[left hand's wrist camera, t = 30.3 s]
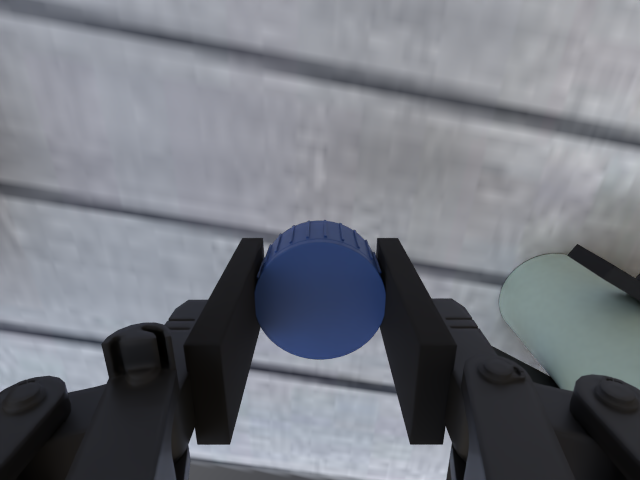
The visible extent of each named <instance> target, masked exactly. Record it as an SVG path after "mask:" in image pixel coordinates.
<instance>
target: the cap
mask: <svg viewBox="0 0 640 480" xmlns="http://www.w3.org/2000/svg"><path fill="white" fill-rule="evenodd" d="M380 273H382V272H381V269H380V266H379V263H378V260H377V258H376V255H375V252H372V250H371V248H370V246H369V245H368V242H367V240H364V239H363V238H362V237H361V236H360V235H359V234H358V233H356V230H352V229H350V228H348V227H346V226H344V225H342V223H340V224H339V223H335V222H330V221H326V220H324V221H308V222H305V223H301V224H299V225H296V226H295V225H294V226H292V228H290V229H288V230H287V231H285V232H284V233H283V234H279V237H278V238H277V239H276V240H275V241H274V243H273V244H272V245H271V244H270V246H269V248H268V251H267V254H266V257H264V258H263V261H262V264H261V266H260V269H259V272H258V275H257V278H256V279H258V281H257V283H256V287H255V291H254V294H255V310H256V317H257V320H258V323H259V324H260V326H261V328H262V330H263V331H264V333H265V334H266V335H267V336H268V338H269V339H270V340H271V341H272V342H274V343H275V344H276V345H277V346H279V347H280V348H282V349H283V350H285V351H287V352H289V353H291V354H294V355H296V356H299V357H303V358H308V359H332V358H337V357H341V356H344V355H347V354H349V353H351V352H353V351H355V350H357V349H359V348H360V347H362V346H363V345H364V344H365V343H367V342H368V341H369V340H370V339H371V338H372V337H373V336H374V334H375V333H376V332H377V330H378V328H379V327H380V325H381V323H382V321H383V318H384V314H385V300H386V291H385V286H384V283H383V280H382V277H381V274H380Z"/></svg>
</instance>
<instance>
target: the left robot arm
mask: <svg viewBox="0 0 640 480" xmlns="http://www.w3.org/2000/svg"><path fill="white" fill-rule="evenodd" d="M263 258H264V247H263V238H242V240H241V242H240V243H239V245H238V247H237V249H236V251H235V252H234V254H233V256H232V258H231V260H230V261H229V263H228V265H227V267H226V269H225V270H224V272H223V274H222V276H221V278H220V280H219V281H218V283H217V285H216V287H215V289H214V290H213V292H212V294H211V296H210V298H209V299H208V300H188V301H186V302H185V303H183V304H182V305H180V306H179V307H178V308H176V309H175V311H174V312H173V313H172V315H171V316H170V318H169V321H167V322H166V324H165V325H163V324H159V323H140V324H135V325H130V326H128V327H125V328H122V329H120V330H118V331H116V332H114V333H113V334H111V335H110V336H108V337H107V338H106V339H105V341H104V342H103V343H102V349H103V353H104V357H105V362H106V366H107V371H108V375H109V380H108V382H107V384H104V385H101V386H97V387H93V388H88V389H84V390H79V391H74V392H70V393H68V392H67V389H66V385H65V382H63V381H62V380H61V379H60V378H58V377H52V376H43V377H35V378H31V379H28V380H24V381H21V382H18V383H17V384H14V385H12V386H10V387H8V388H6V389H4V390H3V391H2V392H0V480H188V479H189V470H190V453H189V447H188V444H189V441H190V438H191V436H192V433H193V431H194V428H195V431H196V438H197V445H230V443H231V439H232V435H233V431H234V427H235V423H236V419H237V416H238V412H239V408H240V404H241V400H242V396H243V392H244V389H245V385H246V381H247V377H248V373H249V369H250V365H251V362H252V358H253V354H254V350H255V346H256V342H257V338H258V335H259V331H260V327H261V326H260V324H259V323H258V320H257V317H256V310H255V294H254V291H255V287H256V283H257V281H258V279H256V278H257V275H258V272H259V269H260V266H261V264H262V261H263ZM376 258H377V260H378V263H379V266H380V269H381V272H382V273H380V274H381V277H382V280H383V283H384V286H385V291H386V300H385V314H384V318H383V321H382V323H381V325H380V330H381V334H382V337H383V341H384V345H385V349H386V353H387V357H388V361H389V364H390V368H391V372H392V376H393V380H394V384H395V388H396V391H397V395H398V399H399V403H400V407H401V411H402V415H403V418H404V422H405V426H406V430H407V434H408V438H409V442H410V444H443V440H444V433H445V426H446V428H447V431H448V433H449V436H450V438H451V441H452V447H451V453H450V460H449V466H448V473H447V479H446V480H640V390H639V389H638V388H636V387H634V386H632V385H630V384H628V383H626V382H624V381H622V380H619V379H616V378H613V377H609V376H604V375H595V374H590V375H585V376H581V377H580V378H579V379H578V380H577V381H576V383H575V386H574V390H573V391H569V390H565V389H560V388H555V387H550V386H546V385H542V384H538V383H535V382H533V381H532V379H531V377H530V376H529V374H528V373H527V371H526V370H525V369H524V368H522V367H521V366H520V365H518V364H517V363H516V362H514V361H512V360H509V359H507V358H505V357H502V356H498V355H497V354H496V352H495V351H494V349H493V348H492V346H491V345H490V343H489V342H488V340H487V339H486V338H485V336H484V335H483V333H482V332H481V330H480V329H478V326H477V325H476V323H475V322H474V320H472V317H471V316H470V314H469V313H468V311H467V310H466V309H465V307H463V306H462V305H460V304H459V303H457V302H456V301H454V300H453V299H431V297H430V295H429V294H428V292H427V290H426V288H425V286H424V284H423V283H422V281H421V279H420V277H419V275H418V274H417V272H416V270H415V268H414V266H413V265H412V263H411V261H410V259H409V257H408V256H407V254H406V252H405V250H404V248H403V246H402V245H401V243H400V241H399V239H398V238H377V252H376Z"/></svg>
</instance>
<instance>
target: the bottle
mask: <svg viewBox="0 0 640 480" xmlns="http://www.w3.org/2000/svg"><path fill="white" fill-rule="evenodd" d="M499 307H500V312H501V315H502V317H503V318H504V320H505V321H506V323H507V324H508V325H509V326H510V328H511V329H512V330H513V331H514V332H515V334H516V335H517V336H518V337H519V339H520V340H521V341H522V342H523V343H524V345H525V346H526V347H527V348H528V350H529V351H530V352H531V353H532V354H533V356H534V357H535V358H536V359H537V361H538V362H539V363H540V364H541V365H542V367H543V368H544V369H545V370H546V372H547V373H548V374H549V375H550V376H551V378H552V379H553V380H554V381H555V383H556V384H557V385H558V386H559V387H560V389H565V390H569V391H573V390H574V386H575V383H576V381H577V380H578V379H579V378H580V377H581V376H585V375H590V374H595V375H604V376H609V377H613V378H616V379H619V380H622V381H624V382H626V383H628V384H630V385H632V386H634V387H636V388H638V389H639V390H640V301H639V300H637V299H635V298H634V297H632V296H630V295H629V294H627V293H625V292H624V291H622V290H620V289H619V288H617V287H615V286H614V285H612V284H610V283H609V282H607V281H605V280H604V279H602V278H601V277H599V276H598V275H596V274H595V273H593V272H591V271H590V270H588V269H587V268H585V267H584V266H582V265H581V264H579V263H578V262H576V261H575V260H573V259H572V258H570V257H569V256H567V255H564V254H546V255H541V256H538V257H535V258H532V259H530V260H528V261H526V262H524V263H523V264H521V265H520V266H519V267H517V268H516V269H515V270H514V271H513V272H512V273H511V274H510V275H509V277H508V278H507V279H506V281H505V283H504V285H503V287H502V289H501V293H500V297H499Z"/></svg>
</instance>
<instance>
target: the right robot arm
mask: <svg viewBox="0 0 640 480" xmlns="http://www.w3.org/2000/svg"><path fill="white" fill-rule="evenodd" d="M567 256H569V257H570V258H572V259H573V260H575V261H576V262H578V263H579V264H581V265H582V266H584V267H585V268H587V269H588V270H590V271H591V272H593V273H595V274H596V275H598V276H599V277H601V278H602V279H604V280H605V281H607V282H609V283H610V284H612V285H614V286H615V287H617V288H619V289H620V290H622V291H624V292H625V293H627V294H629V295H630V296H632V297H634V298H635V299H637V300H639V301H640V274H639V275H638V276H637V277H636V278H634V277H632V276H630V275H629V274H627V273H626V272H624V271H622V270H621V269H619V268H617V267H616V266H614V265H612V264H611V263H609V262H607V261H606V260H604V259H602V258H600V257H599V256H597V255H595V254H594V253H592V252H590V251H588V250H587V249H585V248H583V247H582V246H580V245H578V244H577V245H576V246H575V247H574V248H573V250H572V251H571V252H570V253H569V254H568V255H567ZM492 348H493V349H494V351H495V352H496V354H497V355H498V356H502V357H505V358H507V359H509V360H512V361H514V362H516V363H517V364H518V365H520V366H521V367H522V368H524V369H525V370H526V371H527V373H528V374H529V376H530V377H531V379H532V381H533V382H535V383H538V384H542V385H546V386H550V387H555V388H560V387H559V386H558V385H557V384H556V383H555V381H554V380H553V379H552V378H551V377H550V376H548V375H546V374H544V373H542V372H541V371H539V370H537V369H535V368H533V367H531V366H529V365H527V364H525V363H523V362H521V361H519V360H518V359H516V358H514V357H512V356H510V355H508V354H506V353H504V352H502V351H500V350H498V349H497V348H495V347H493V346H492Z"/></svg>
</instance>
